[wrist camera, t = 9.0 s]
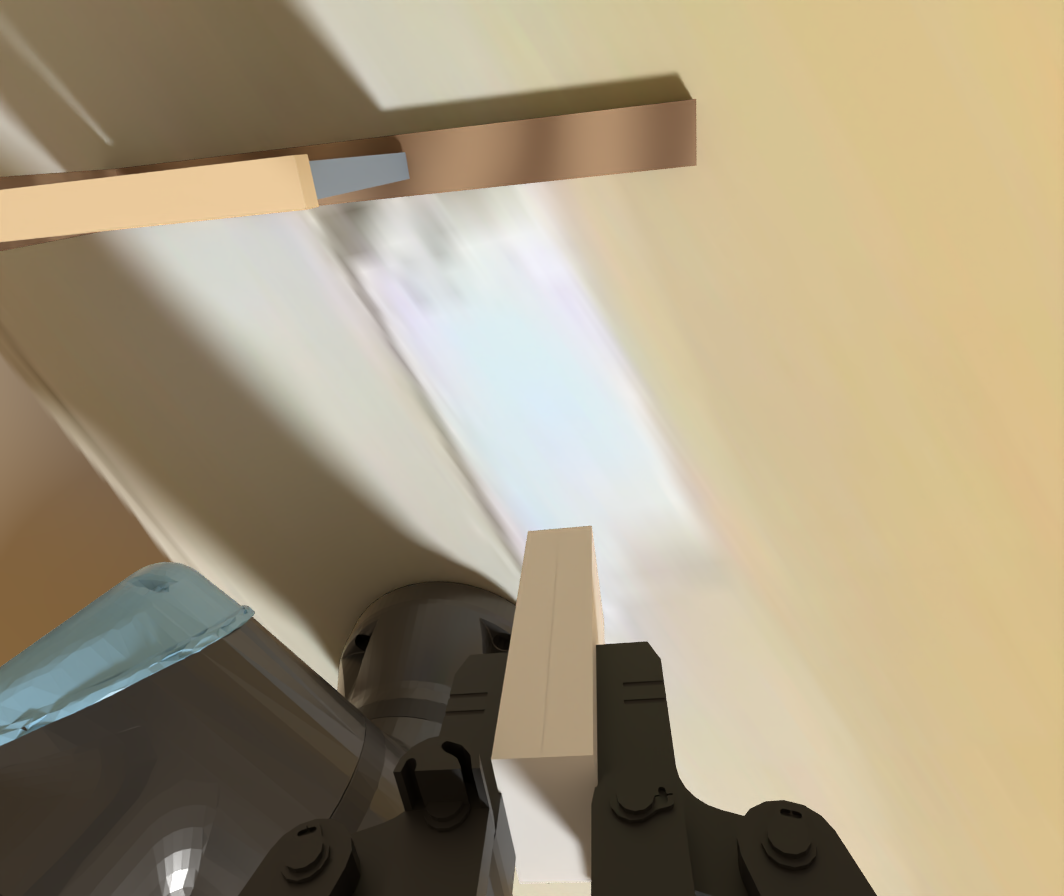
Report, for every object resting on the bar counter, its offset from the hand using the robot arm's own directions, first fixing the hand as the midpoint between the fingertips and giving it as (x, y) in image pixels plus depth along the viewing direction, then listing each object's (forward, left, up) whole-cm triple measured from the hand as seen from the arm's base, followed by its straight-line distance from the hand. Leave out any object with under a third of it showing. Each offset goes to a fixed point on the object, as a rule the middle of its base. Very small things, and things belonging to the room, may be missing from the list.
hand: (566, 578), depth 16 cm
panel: (-15, +9, -22) cm, 28 cm away
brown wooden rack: (-10, +9, -23) cm, 27 cm away
